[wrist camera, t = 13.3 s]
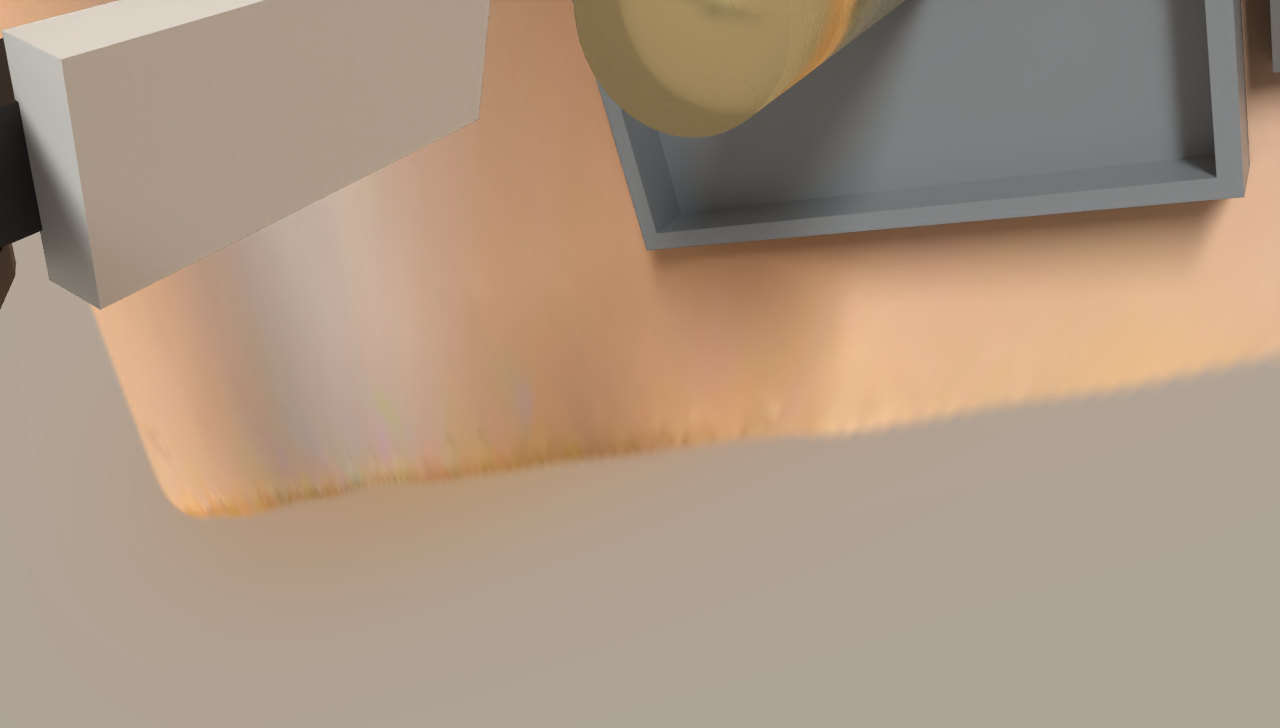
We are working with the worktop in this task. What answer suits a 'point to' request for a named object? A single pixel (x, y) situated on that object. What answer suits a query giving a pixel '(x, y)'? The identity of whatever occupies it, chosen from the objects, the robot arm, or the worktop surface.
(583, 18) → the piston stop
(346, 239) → the worktop surface
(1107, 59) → the tray
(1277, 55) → the crank plate
